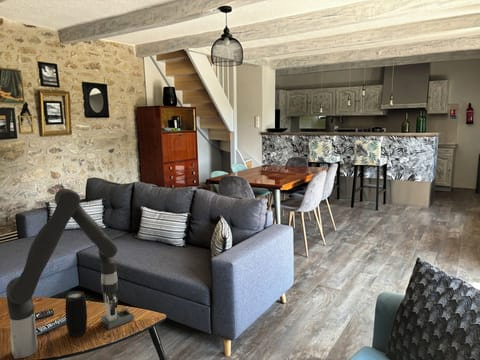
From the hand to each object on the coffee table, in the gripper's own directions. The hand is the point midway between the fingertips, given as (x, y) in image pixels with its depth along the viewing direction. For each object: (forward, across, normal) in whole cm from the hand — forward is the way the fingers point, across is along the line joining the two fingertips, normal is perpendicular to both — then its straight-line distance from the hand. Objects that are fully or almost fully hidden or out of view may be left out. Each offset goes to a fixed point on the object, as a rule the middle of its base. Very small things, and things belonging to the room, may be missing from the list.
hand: (110, 313), depth 182 cm
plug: (+4, 0, 0) cm, 4 cm away
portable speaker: (+5, -2, -16) cm, 17 cm away
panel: (+5, 0, +3) cm, 6 cm away
